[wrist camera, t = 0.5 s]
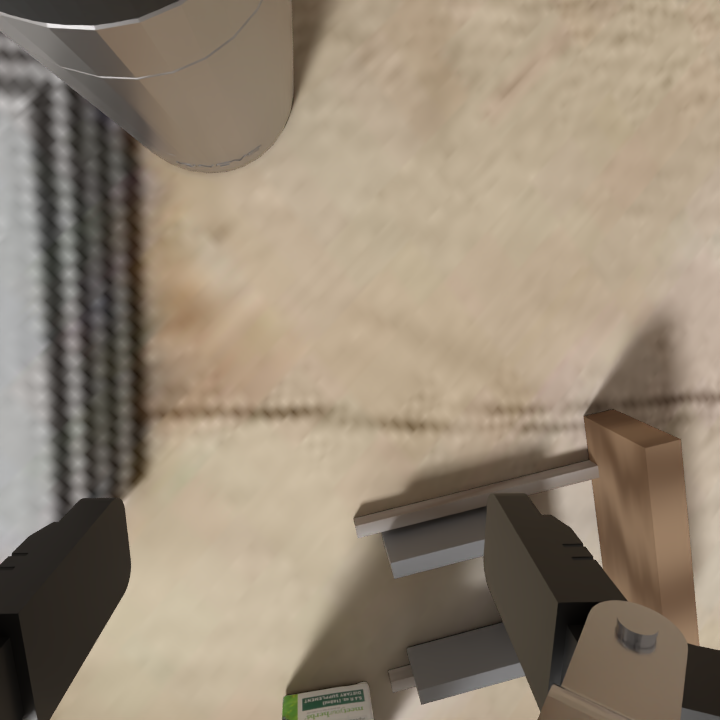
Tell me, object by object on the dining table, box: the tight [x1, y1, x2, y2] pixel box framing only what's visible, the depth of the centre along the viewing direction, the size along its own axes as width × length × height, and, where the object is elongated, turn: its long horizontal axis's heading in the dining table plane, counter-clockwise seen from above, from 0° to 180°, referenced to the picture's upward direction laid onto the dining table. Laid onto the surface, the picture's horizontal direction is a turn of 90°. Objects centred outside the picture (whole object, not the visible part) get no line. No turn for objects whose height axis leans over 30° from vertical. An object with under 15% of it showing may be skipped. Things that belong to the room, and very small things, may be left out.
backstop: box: [354, 409, 699, 693], centre depth 31 cm, size 18×18×6 cm
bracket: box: [381, 506, 525, 705], centre depth 32 cm, size 10×9×4 cm
